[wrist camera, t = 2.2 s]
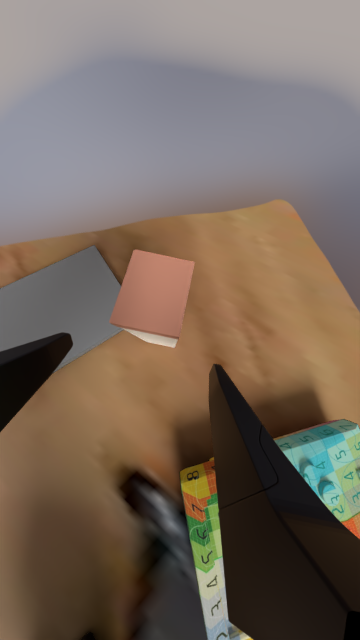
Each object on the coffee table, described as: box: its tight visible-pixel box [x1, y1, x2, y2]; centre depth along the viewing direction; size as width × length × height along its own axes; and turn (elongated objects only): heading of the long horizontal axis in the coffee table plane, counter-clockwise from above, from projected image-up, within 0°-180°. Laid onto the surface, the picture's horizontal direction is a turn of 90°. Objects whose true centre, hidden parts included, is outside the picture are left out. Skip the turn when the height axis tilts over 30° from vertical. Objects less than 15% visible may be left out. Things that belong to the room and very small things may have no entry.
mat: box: [0, 245, 124, 373], centre depth 19 cm, size 24×14×1 cm, turn 124°
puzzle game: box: [179, 419, 360, 640], centre depth 14 cm, size 12×5×20 cm
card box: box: [109, 249, 195, 348], centre depth 14 cm, size 5×4×12 cm
